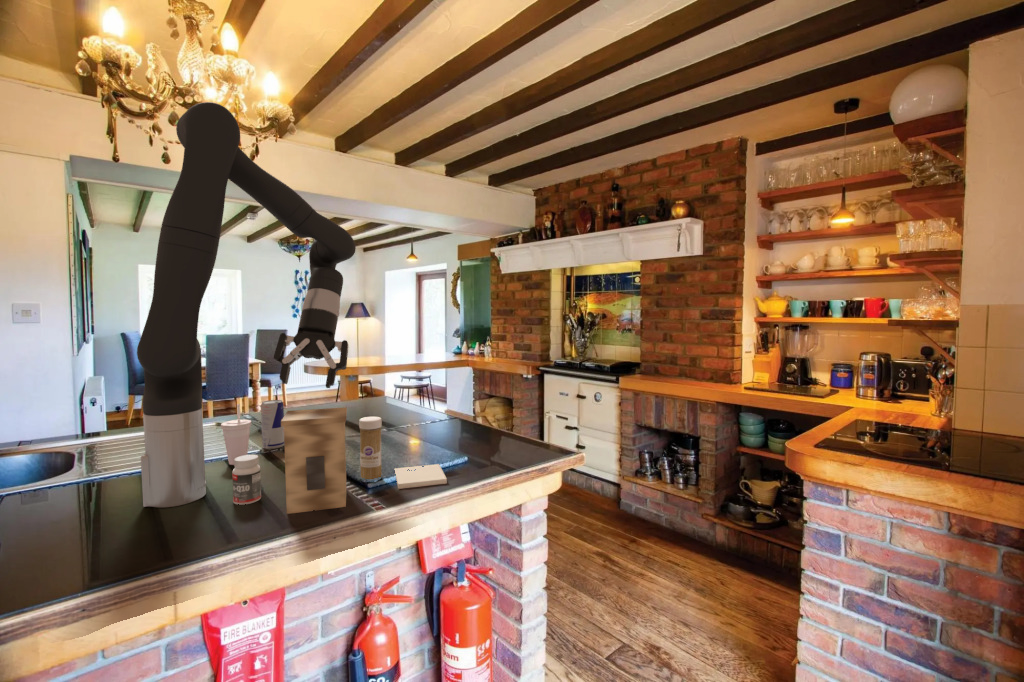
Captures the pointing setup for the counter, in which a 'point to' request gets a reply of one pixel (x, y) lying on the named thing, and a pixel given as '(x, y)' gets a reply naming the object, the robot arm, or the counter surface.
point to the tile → (420, 476)
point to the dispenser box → (315, 459)
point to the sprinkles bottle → (370, 447)
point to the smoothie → (236, 437)
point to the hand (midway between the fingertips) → (306, 385)
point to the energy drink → (272, 424)
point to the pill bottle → (246, 480)
